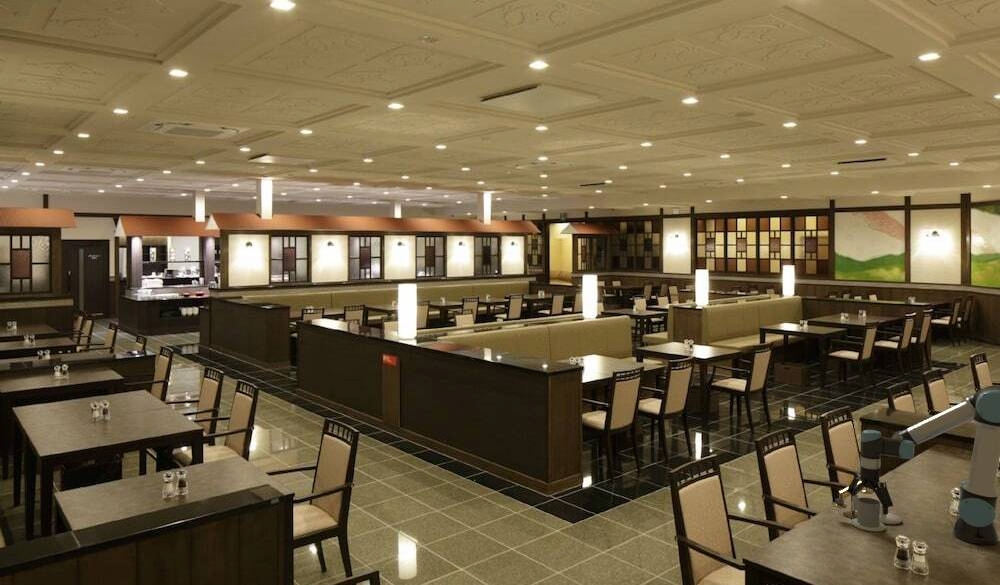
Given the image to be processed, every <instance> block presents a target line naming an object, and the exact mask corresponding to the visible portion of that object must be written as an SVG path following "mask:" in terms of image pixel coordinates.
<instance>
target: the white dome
mask: <svg viewBox="0 0 1000 585" xmlns="http://www.w3.org/2000/svg"><path fill="white" fill-rule="evenodd" d="M902 520H903V519H902V517H901V516H899V515H896V514H894V513H890V512H888V514H887V515H886V521H885V522H881V523H883V524H884V525H885V524H886V525H897V524H901V523H902Z"/></svg>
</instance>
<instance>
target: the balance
mask: <svg viewBox="0 0 1000 585" xmlns="http://www.w3.org/2000/svg"><path fill="white" fill-rule="evenodd" d="M861 482H862V481H861V480H859V482H858V483H857V485H856V487H857V486H858V485H859V484H860V483H861ZM856 487H855V488H856ZM848 488H849V486H847V487H845V488H844V489H841V490H839V491H838V498H835V502H832V506H833V507H834V508H837V509H847V506H848V505H847V504H846V503H845V499H843V498H841V495H843V494H845V493H848V492H847V489H848ZM859 493H861V494H865V495H873V494H874V493H875V492H873V490H871V489H869V488H863V489H862V490H861V491H859ZM857 512H858V511H852V502H851V501H850V510H849V511H844V512H843V511H842V515H843V516H844V517H846V518H849V519H851V520H852V519H854V518H857Z"/></svg>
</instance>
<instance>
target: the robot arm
mask: <svg viewBox="0 0 1000 585" xmlns="http://www.w3.org/2000/svg"><path fill="white" fill-rule="evenodd" d="M972 420H973V421H974V422H975V423H976V432H975V438H974V441H973V449H972V454H971V460H970V465H969V472H968V477H967V480H962V481H960V486H959V500H958V506H957V510H958V518H957V520H956V522H955V524H954V525H953V532H952V534H953V536H954V537H955V538H958V539H959V540H962V541H964V542H967V543H970V544H971V543H972V544H975V545H981V546H994V545H993V544H995V545H997V544H998V543H999V537H998V536H999V535H998V533H997V530H996V526H995V521H994V520H995V519H996V506H997V503H998V496H999V494H998V493H997V491H996V489H995V484H996V480H997V474H998V468H999V463H1000V386H999V385H988V386H985V387H982V388H981V389H980V390H977V391H976V392H975V393H973V394H970V395H968V396H967V397H966V398H965V401H963V402H960V403H958V404H956V405H954V406H952V407H950V408H948V409H946V410H944V411H941V412H939V413H937V414H934V415H933V416H931V417H928V418H927V419H925V420H922V421H920V422H918V423H915V424H914V425H912V426H909V427H907V428H905V429H903V430H898V431H896V432H894V433H893V434H892V436H891V437H884V436H882V432H881V431H878V430H874V429H865V430H862V432H861V439H860V463H859V464H860V468H859V469H860V470H859V472H860V473H859V472H858V473H854V474H853V479H852V480H851V482H850V484H849V486H848V487H849V488H848V489H847V492H846V493H849V494H850V503H851V502H852V511H855V512H857V511H858V499H859V495H858V494H859V493H860V491H861V490H862V489H866V488H867V489H869V490H872V491H873V492H874V493H875V494H874V495H876V497H877V500H878V501H879V502H880V522H885V521H886V515H887V514H888V513H889V508H890V507H893V506H894V503H893V501H892V498H891V496H890V492H889V491H888V486H887V482H886V481H880V478H881V463H882V462H881V461H882V460H881V459H882V456H886V457H887V456H888V457H893V458H900V459H903V460H904V459H905V460H913V459H914V458H915V457H914V456H915V447H916V446H918V445H919V444H922V443H924V442H926V441H929V440H931V439H933V438H935V437H937V436H940V435H942V434H944V433H946V432H949V431H951V430H953V429H955V428H957V427H960V426H962V425H964V424H966V423H968V422H971V421H972ZM859 481H862V482H861V483H860V484H859V485H858V486H857V487H856V485H857V483H858V482H859ZM855 487H856V488H855Z"/></svg>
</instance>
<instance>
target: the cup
mask: <svg viewBox="0 0 1000 585" xmlns="http://www.w3.org/2000/svg"><path fill="white" fill-rule="evenodd" d="M880 509H881V502H880V501H879V499H875V498H872V497H871V498H870V497H865V496H864V497H858V510H857V511H856V512H857V523H858V524H860V525H862V526H865V527H870V528H876V527H879V524H880Z"/></svg>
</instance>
